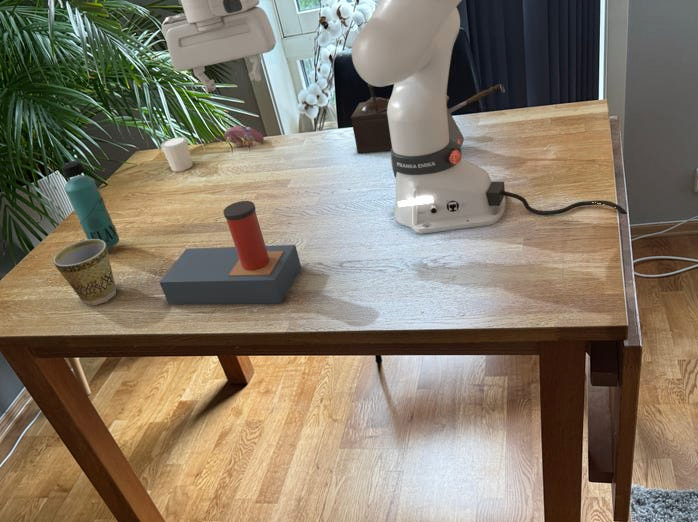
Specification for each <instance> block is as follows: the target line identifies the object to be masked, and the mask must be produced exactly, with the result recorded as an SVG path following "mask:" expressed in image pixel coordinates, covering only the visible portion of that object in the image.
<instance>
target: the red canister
mask: <svg viewBox="0 0 698 522" xmlns="http://www.w3.org/2000/svg"><path fill="white" fill-rule="evenodd" d="M256 210H257V209H256V205H255V202H254V201H251V200H241V201H235V202H232V203H231V204H229V205H227V206H225V208H224V209H223V210H222V211H223V216H224V219H226V222H227V225H228V229H229V232H230V235H231V238H232V241H233V244H234V247H235V248H236V251H237V254H238V257H239V260H240V263H241V266H242V268H243V269H245V270H257V269H260V268H262V267H264V266H265V265H267V264H268V262H269V256H268V253H267V249H266V246H267V245H266V242H265V239H264V236H263V233H262V229H261V225H260V222H259V219H258V215H257V212H256Z"/></svg>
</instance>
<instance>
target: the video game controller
mask: <svg viewBox="0 0 698 522" xmlns="http://www.w3.org/2000/svg"><path fill="white" fill-rule="evenodd" d="M223 138H224V139H225V140H226V141H227V142H229V143H231V144H234V145H235V146H237V147H242V145H245V146H248V147H251V146H253V143H254V142H255V143H257V144H258V143H259V144H260V143H263V142H264V141H265V137H264V135H263V134H262V133H261V132H259V131H257V130H255V129H254V128H252V127H251V126H244V125H234V126H233V127H228V128H227V129H226V131H225V132H224V134H223Z"/></svg>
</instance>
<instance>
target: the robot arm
mask: <svg viewBox="0 0 698 522" xmlns="http://www.w3.org/2000/svg"><path fill="white" fill-rule="evenodd" d="M461 2H462V0H380V2H379V3H378V5H377V7H376V8H375V10H374V11H373V13H372V15H371V16H370V18H369V20H368V21H367V22H366V23H365V25H364V26H363V27H362V28H361V30H359V32H358V33H357V34H356V36H355V37H354V40H353V41H352V45H351V60H352V63H353V67H354V69H355V70H356V72H357V74H358V75H359V77H360V78H361V79H362V80H363V81H364V82H366V83H367V84H368V83H369V84H371V85H373V86H375V87H378V88H383V87H387V86H391V85H393V88H392V92H391V95H390V98H389V99H390V100H389V103H388V107H387V116H388V123H389V129H390V136H391V143H392V149H391V151H390V162H391V163H390V164H391V169H392V172H393V176H394V178H395V207H394V213H393V217H394V219H395V221H396V222H397V223H399V224H400V225H402V226H405V227H408V228H410V229H411V230H412V231H414V232H415V233H416V234H420V235H423V234H431V233H438V232H446V231H454V230H461V229H467V228H476V227H484V226H491V225H493V224H495V223H497V222H498V221H500V219H501V218H502V217H503V215H504V213H505V212H506V211H505V210H506V204H507V203H506V197H508V198H512V199H516V200H517V201H520V202H521V203H522V204H523V206H524V208H525V209H526V210H527V211H528V212H529V213H532V214H535V215H539V216H552V215H553V216H554V215H560V214H564V213H566V212H569V211H571V210H573V209H575V208H578V207H585V206H586V207H587V206H607V207H611V208H613V209H615V210H617V211H618V212H619V213H621V214H622V215H627V214H628V212H627V211H626V210H625V209H624V208H623V207H622V206H620V205H618V204H617V203H615V202H612V201H609V200H603V199H602V200H600V199H598V200H583V201H578V202H574V203H572V204H570V205H567V206H565V207H563V208H559V209H553V210H552V209H551V210H539V209H536V208H533V207H531V206H530V204H529V203H528V201H527V199H526V198H524V197H523V196H522V195H519V194H517V193H514V192H510V191H506V188H505V181H492V179H491V177H490V174H489V173H488V171H486V169H484V168H482V167H480V166H478V165H477V164H474V163H473V162H471V161H470V160H468V159H466V158H464V157H462V146H461V145H460V139H458V142H457V143H456V142H455V141H453V140H452V139H450V138H449V131H448V119H447V108H448V106H446V96H447V94H448V84H449V83H448V82H449V75H450V67H451V60H452V54H453V49H454V45H455V43H456V40H457V38H458V35H459V32H460V28H461V17H460V13H459V10H458V8H457V7H458V5H459V4H460V3H461ZM180 3H181V6H182V10H183V12H181V13H178V14H175V15H170V16H167V17H165V19H164V21H163V22H162V24H161V32H162V35H163V38H164V39H165V41H166V46H167V51H168V54H169V58H170V62H171V66H172V68H173V69H175V70H176V71H177V72H185V71H189V70H192V71H193V75H194V76H195V77H196V79H198V80H199V81H200V82H201V84H203V86H204V89H205V92H206V93H210V92H214V91H216V90H217V85H216V82H215V79H210V78H209V77H208V76H207V75H206V73H205V71H206V68H205V67H207V66H212V65H217V64H222V63H226V62H230V61H235V60H239V59H243V58H249V61H250V63H252V64H253V66H252V71H250V72H248V78H250V83H251V84H254V83H259V82H261V81H262V77H261V73H260V68H261V63H262V56H261V55H262V54H266V53H270V52H271V51H273V50H274V49H275V47H276V44H277V41H276V36H275V33H274V30H273V27H272V24H271V22H270V19H269V17H268V15H267V12H266V11H265V10H264V9H263V8H262V7H260V6H258V5H259V4H260V0H180ZM592 202H594V203H592ZM595 202H596V203H595ZM597 203H601V204H597ZM603 204H605V205H603ZM614 207H616V208H614Z"/></svg>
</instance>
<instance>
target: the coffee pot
mask: <svg viewBox="0 0 698 522" xmlns="http://www.w3.org/2000/svg"><path fill="white" fill-rule="evenodd" d="M498 89H500V90H501V93H503V94H505V91H506V90H505V87H504V85H503V84H502V83H498V84H496V85H494V86H489V88H488V89H486V90H485V89H484V90H482V91H480V92H478V93H477V94H474V95H473V96H471V97H469V98H468V99H466V100H465V101H463V102H460V103H458V104H457V105H454V106H452V107H450V108H449V107H448V106H447V105H448V101H449V100H450V96H449V95H447V96H446V106H447V119H448V131H449V138H450V139H452V140H453V141H455V142H456V143H457V142H458V139H460V145H461V147H462V146H463V144H464V135H463V133H462V132H461V130H460V127H459V126H458V124H457V122H456V121H455V118H454V117H453V115H452V113H453V112H455V111H457V110H459V109H461V108H463V107H465V106H466V105H469V104H471V103H474V102H476V101H478V100H480V99H483V98H484V97H486V96H487V95H489V94H491V93H494V92H495V91H496V90H498Z"/></svg>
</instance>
